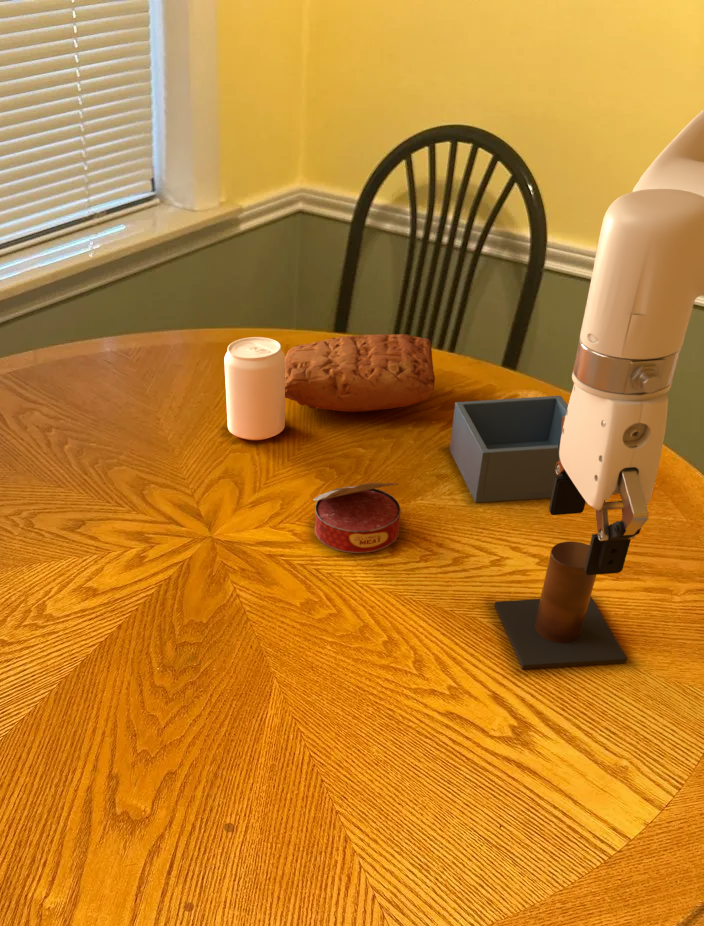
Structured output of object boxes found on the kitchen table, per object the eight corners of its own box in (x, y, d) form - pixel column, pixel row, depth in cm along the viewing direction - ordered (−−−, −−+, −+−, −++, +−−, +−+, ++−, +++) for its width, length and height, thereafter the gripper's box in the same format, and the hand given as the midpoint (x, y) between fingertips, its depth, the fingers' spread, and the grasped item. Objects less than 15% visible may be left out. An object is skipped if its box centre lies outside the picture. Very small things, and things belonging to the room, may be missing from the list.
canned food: (320, 576, 106) (280, 510, 102) (349, 525, 112) (312, 460, 108) (404, 560, 99) (365, 488, 94) (430, 507, 105) (394, 436, 100)
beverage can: (257, 411, 130) (254, 330, 123) (297, 428, 126) (297, 345, 118) (216, 430, 126) (211, 348, 119) (255, 449, 122) (253, 364, 114)
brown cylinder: (572, 613, 90) (591, 539, 85) (587, 641, 87) (608, 566, 81) (528, 616, 90) (544, 542, 85) (542, 644, 87) (560, 569, 81)
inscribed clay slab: (432, 379, 136) (437, 327, 131) (430, 431, 123) (436, 376, 118) (288, 375, 140) (287, 324, 134) (272, 425, 127) (271, 371, 122)
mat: (589, 599, 93) (590, 595, 93) (626, 663, 85) (627, 658, 85) (493, 606, 93) (494, 601, 93) (522, 669, 85) (523, 665, 85)
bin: (550, 443, 119) (560, 395, 114) (586, 495, 108) (598, 445, 104) (449, 449, 119) (455, 402, 114) (475, 502, 108) (482, 452, 104)
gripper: (722, 408, 64) (662, 595, 76) (630, 319, 78) (590, 489, 89) (618, 416, 65) (574, 601, 76) (543, 326, 78) (515, 495, 89)
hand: (583, 541), depth 82 cm, fingers open, 9 cm apart
